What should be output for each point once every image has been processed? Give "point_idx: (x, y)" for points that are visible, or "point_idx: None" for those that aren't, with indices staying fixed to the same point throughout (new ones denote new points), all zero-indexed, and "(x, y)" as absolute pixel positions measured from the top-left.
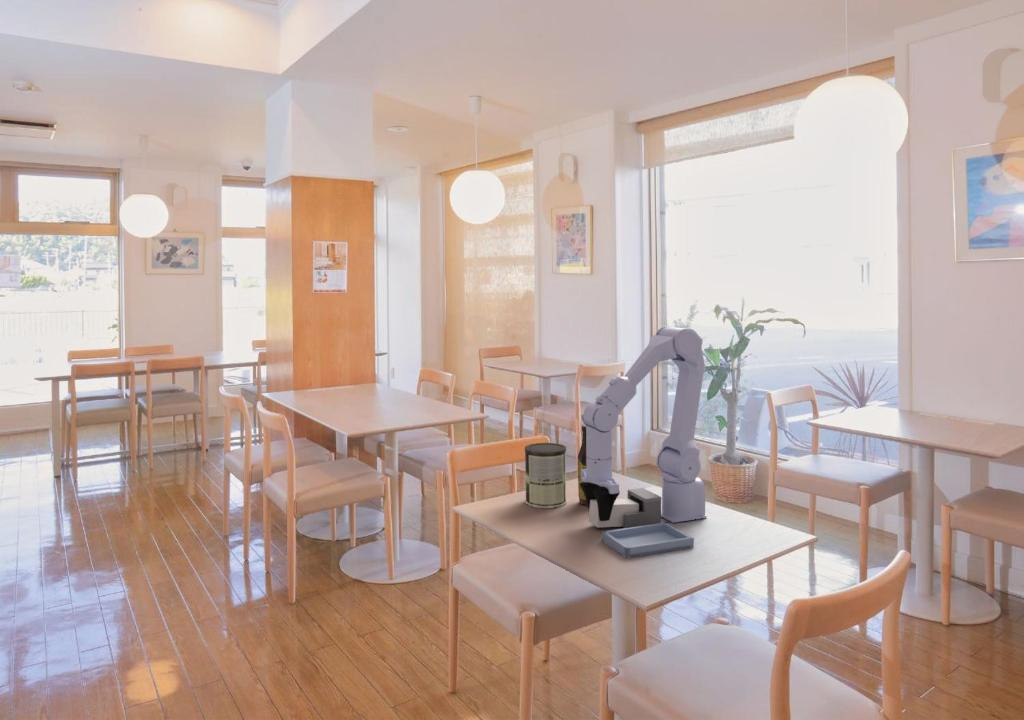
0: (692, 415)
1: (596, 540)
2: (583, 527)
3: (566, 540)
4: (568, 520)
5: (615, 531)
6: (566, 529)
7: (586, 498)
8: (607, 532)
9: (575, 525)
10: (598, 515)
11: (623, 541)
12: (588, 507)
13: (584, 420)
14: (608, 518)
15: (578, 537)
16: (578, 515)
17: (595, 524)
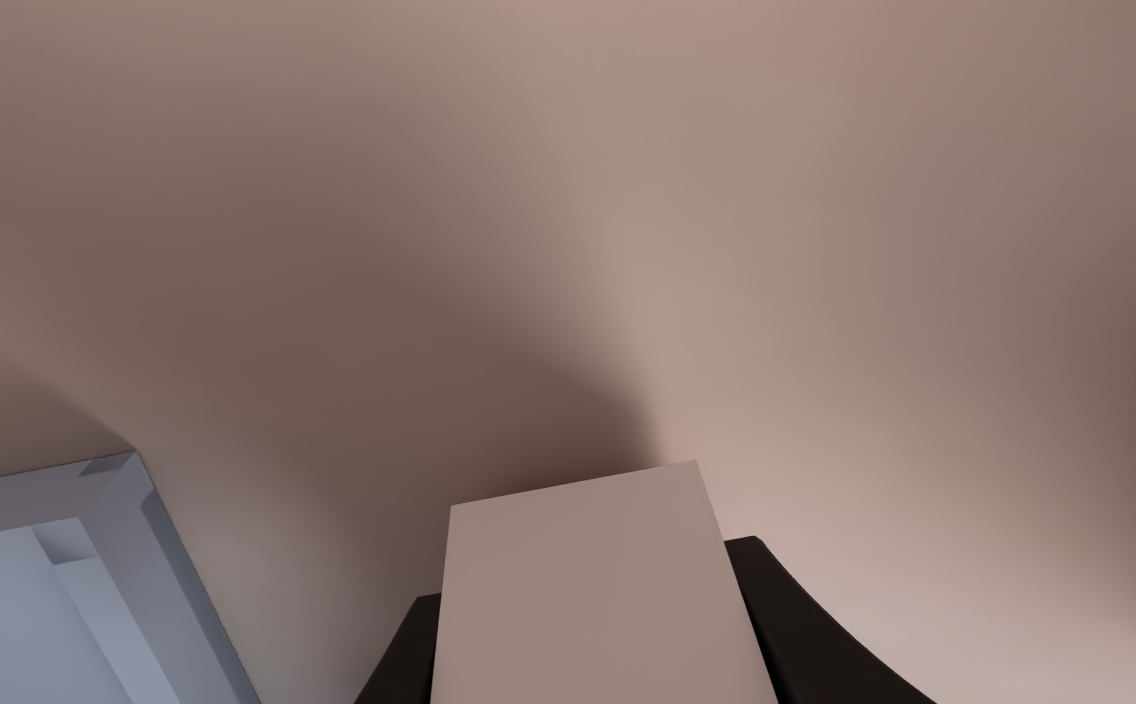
0: None
1: (155, 400)
2: (637, 365)
3: (152, 18)
4: (955, 247)
5: (106, 653)
6: (613, 133)
7: (853, 678)
8: (59, 570)
9: (737, 289)
10: (440, 627)
11: (12, 641)
12: (769, 585)
13: None
14: None
15: (272, 218)
16: (1080, 408)
17: (502, 509)
